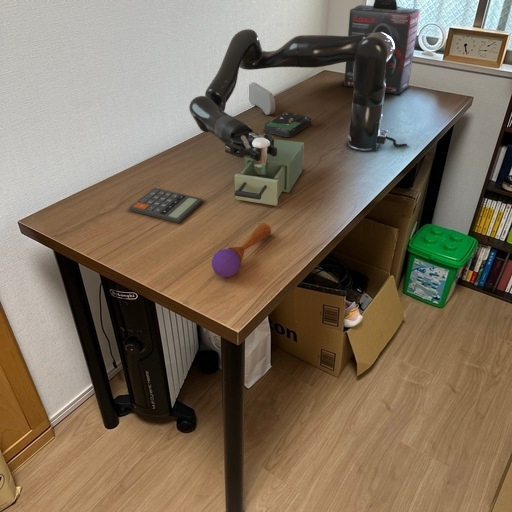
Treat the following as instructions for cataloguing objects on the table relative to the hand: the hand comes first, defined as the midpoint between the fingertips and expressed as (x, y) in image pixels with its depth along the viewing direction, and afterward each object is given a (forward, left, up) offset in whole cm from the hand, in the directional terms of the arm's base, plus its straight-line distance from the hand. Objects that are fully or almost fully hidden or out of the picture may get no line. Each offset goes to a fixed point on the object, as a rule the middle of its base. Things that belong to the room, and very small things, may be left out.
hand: (267, 155), depth 122 cm
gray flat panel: (+24, -65, -13) cm, 70 cm away
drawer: (+2, 0, -12) cm, 12 cm away
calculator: (+24, +11, -13) cm, 30 cm away
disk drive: (+9, -50, -13) cm, 52 cm away
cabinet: (+2, -13, -13) cm, 18 cm away
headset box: (-13, -105, -13) cm, 106 cm away
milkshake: (+2, -2, -6) cm, 7 cm away
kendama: (-3, +26, -13) cm, 29 cm away
